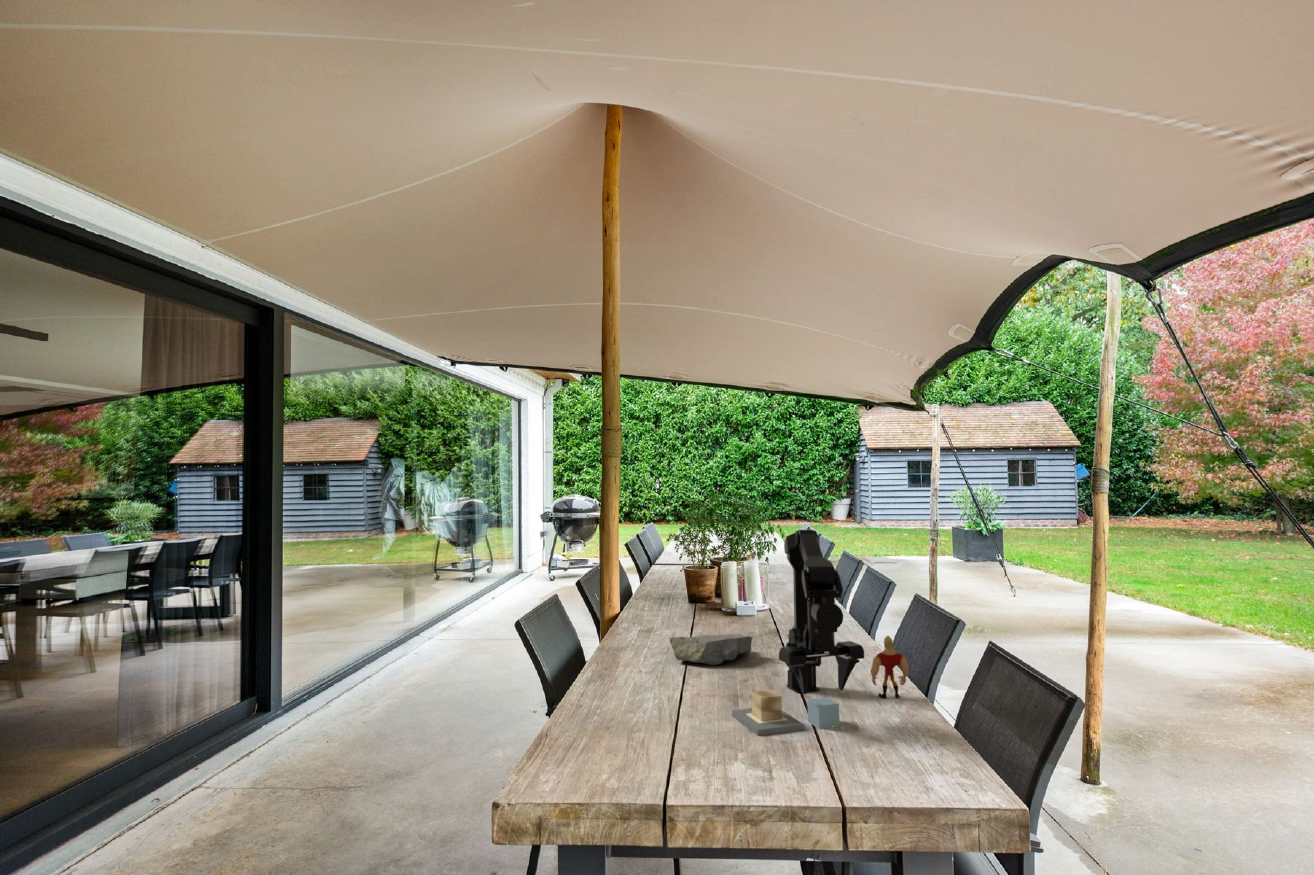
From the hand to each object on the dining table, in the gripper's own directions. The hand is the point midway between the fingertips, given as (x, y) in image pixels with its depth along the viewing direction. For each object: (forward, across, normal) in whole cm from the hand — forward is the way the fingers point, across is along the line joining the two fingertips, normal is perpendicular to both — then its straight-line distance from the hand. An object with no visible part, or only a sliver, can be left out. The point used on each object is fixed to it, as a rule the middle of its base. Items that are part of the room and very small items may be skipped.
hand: (822, 692), depth 164 cm
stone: (+8, +1, -65) cm, 66 cm away
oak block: (+6, +12, -5) cm, 14 cm away
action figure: (+7, -26, -12) cm, 29 cm away
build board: (+7, +12, -5) cm, 14 cm away
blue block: (+7, 0, 0) cm, 7 cm away
